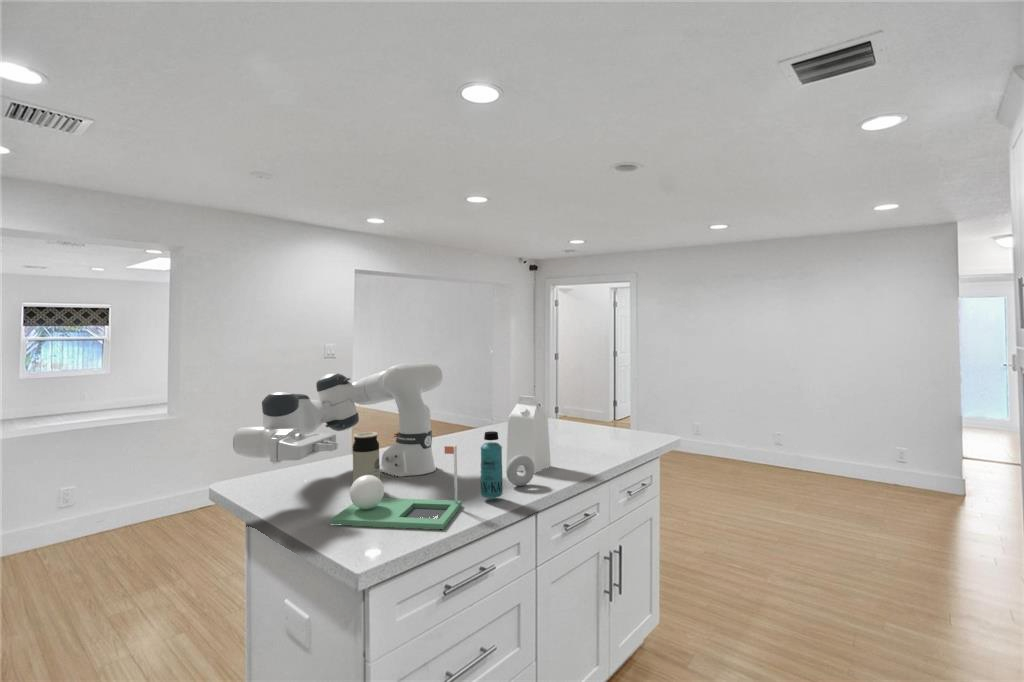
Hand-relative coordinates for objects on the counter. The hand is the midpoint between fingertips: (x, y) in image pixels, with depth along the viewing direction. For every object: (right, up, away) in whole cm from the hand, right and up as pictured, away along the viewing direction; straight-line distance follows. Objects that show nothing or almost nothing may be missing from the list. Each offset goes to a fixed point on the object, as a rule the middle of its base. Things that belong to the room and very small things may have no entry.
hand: (335, 446), depth 140 cm
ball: (+9, -12, -1) cm, 15 cm away
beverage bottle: (+43, -17, +9) cm, 47 cm away
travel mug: (+3, -18, +19) cm, 27 cm away
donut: (+52, -17, +22) cm, 59 cm away
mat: (+18, -18, -3) cm, 26 cm away
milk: (+55, -17, +44) cm, 72 cm away
